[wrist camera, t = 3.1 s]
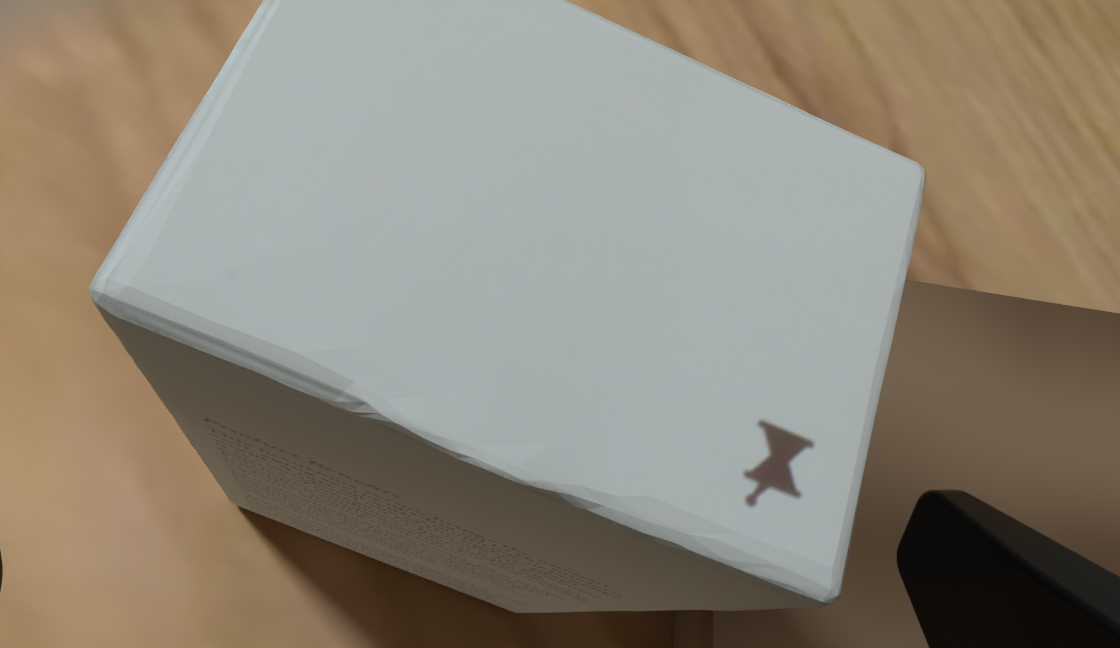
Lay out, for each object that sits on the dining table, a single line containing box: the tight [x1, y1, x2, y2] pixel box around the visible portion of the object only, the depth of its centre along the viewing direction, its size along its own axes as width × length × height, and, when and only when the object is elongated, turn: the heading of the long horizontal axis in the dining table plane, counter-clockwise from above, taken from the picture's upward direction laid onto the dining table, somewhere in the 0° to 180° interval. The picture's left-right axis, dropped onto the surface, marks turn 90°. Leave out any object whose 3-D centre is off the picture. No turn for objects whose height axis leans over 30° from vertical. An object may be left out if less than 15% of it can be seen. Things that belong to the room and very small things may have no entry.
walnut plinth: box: [673, 280, 1120, 648], centre depth 20 cm, size 13×13×2 cm
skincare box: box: [89, 0, 926, 613], centre depth 13 cm, size 6×4×12 cm
